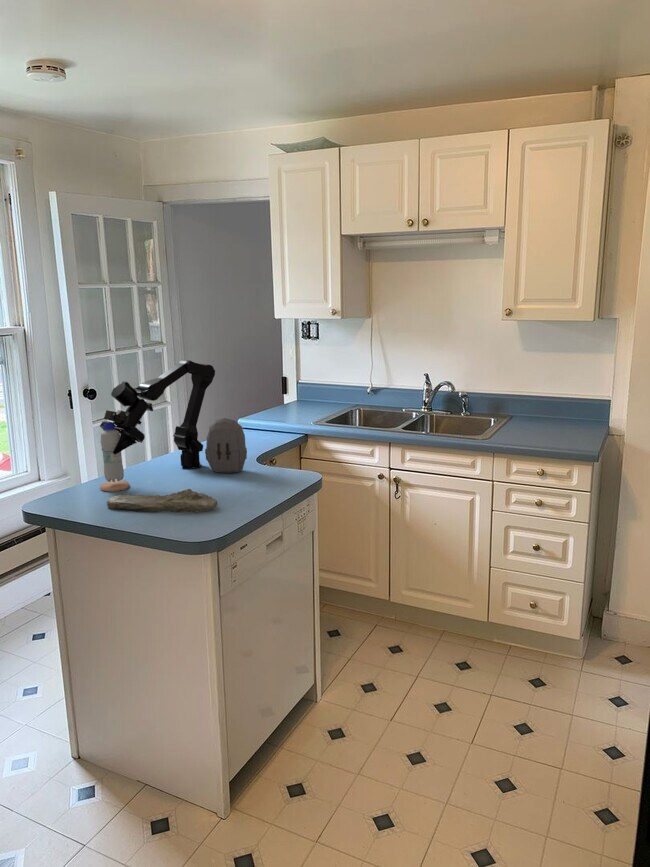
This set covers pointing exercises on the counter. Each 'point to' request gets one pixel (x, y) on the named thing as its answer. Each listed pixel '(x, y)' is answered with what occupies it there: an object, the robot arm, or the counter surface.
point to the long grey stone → (164, 502)
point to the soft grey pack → (226, 446)
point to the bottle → (111, 453)
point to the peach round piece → (114, 486)
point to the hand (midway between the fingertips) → (108, 452)
